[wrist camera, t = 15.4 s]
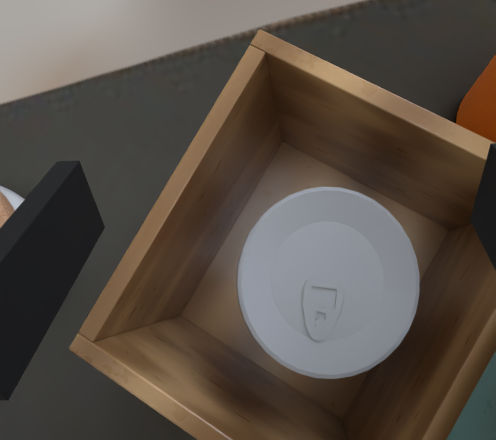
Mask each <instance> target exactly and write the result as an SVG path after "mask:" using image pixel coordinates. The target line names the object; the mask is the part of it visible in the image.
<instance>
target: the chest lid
mask: <svg viewBox="0 0 496 440" xmlns="http://www.w3.org/2000/svg"><path fill="white" fill-rule="evenodd" d="M446 440H496V351H495V353H494V354H493V356H492V358H491V360H490V362H489V363H488V365H487V367H486V369H485V371H484V372H483V374H482V376H481V378H480V380H479V381H478V383H477V385H476V387H475V389H474V390H473V392H472V394H471V396H470V398H469V399H468V401H467V403H466V405H465V407H464V408H463V410H462V412H461V414H460V416H459V417H458V419H457V421H456V423H455V425H454V426H453V428H452V430H451V432H450V434H449V436H448V437H447V439H446Z"/></svg>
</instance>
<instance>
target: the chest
mask: <svg viewBox="0 0 496 440" xmlns="http://www.w3.org/2000/svg"><path fill="white" fill-rule="evenodd" d="M492 143H495V142H492V141H490V140H488V139H486V138H484V137H482V136H480V135H478V134H476V133H474V132H472V131H470V130H468V129H465V128H463V127H461V126H459V125H457V124H455V123H453V122H451V121H449V120H447V119H445V118H443V117H441V116H439V115H436V114H434V113H432V112H430V111H428V110H426V109H424V108H422V107H420V106H418V105H416V104H414V103H412V102H409V101H407V100H405V99H403V98H401V97H399V96H397V95H395V94H393V93H391V92H389V91H387V90H385V89H382V88H380V87H378V86H376V85H374V84H372V83H370V82H368V81H366V80H364V79H362V78H360V77H358V76H356V75H353V74H351V73H349V72H347V71H345V70H343V69H341V68H339V67H337V66H335V65H333V64H331V63H329V62H326V61H324V60H322V59H320V58H318V57H316V56H314V55H312V54H310V53H308V52H306V51H304V50H302V49H299V48H297V47H295V46H293V45H291V44H289V43H287V42H285V41H283V40H281V39H279V38H277V37H275V36H272V35H270V34H268V33H266V32H264V31H262V30H259V31H258V32H257V34H256V36H255V37H254V39H253V41H252V42H251V45H250V46H249V47H248V49H247V51H246V52H245V54H244V56H243V57H242V59H241V61H240V62H239V64H238V66H237V67H236V69H235V71H234V72H233V74H232V76H231V77H230V79H229V81H228V82H227V84H226V86H225V87H224V89H223V91H222V92H221V94H220V96H219V97H218V99H217V101H216V102H215V104H214V106H213V107H212V109H211V111H210V113H209V114H208V116H207V118H206V119H205V121H204V123H203V124H202V126H201V128H200V129H199V131H198V133H197V134H196V136H195V138H194V139H193V141H192V143H191V144H190V146H189V148H188V149H187V151H186V153H185V154H184V156H183V158H182V159H181V161H180V163H179V164H178V166H177V168H176V169H175V171H174V173H173V174H172V176H171V178H170V179H169V181H168V183H167V184H166V186H165V188H164V189H163V191H162V193H161V194H160V196H159V198H158V199H157V201H156V203H155V204H154V206H153V208H152V209H151V211H150V213H149V214H148V216H147V218H146V219H145V221H144V223H143V225H142V226H141V228H140V230H139V231H138V233H137V235H136V236H135V238H134V240H133V241H132V243H131V245H130V246H129V248H128V250H127V251H126V253H125V255H124V256H123V258H122V260H121V261H120V263H119V265H118V266H117V268H116V270H115V271H114V273H113V275H112V276H111V278H110V280H109V281H108V283H107V285H106V286H105V288H104V290H103V291H102V293H101V295H100V296H99V298H98V300H97V301H96V303H95V305H94V306H93V308H92V310H91V311H90V313H89V315H88V316H87V318H86V320H85V321H84V323H83V325H82V326H81V328H80V330H79V333H78V334H77V335H76V337H75V339H74V340H73V342H72V344H71V345H70V347H69V350H70V351H72V352H73V353H75V354H76V355H78V356H79V357H80V358H82V359H83V360H85V361H86V362H88V363H89V364H90V365H92V366H93V367H95V368H96V369H98V370H99V371H100V372H102V373H103V374H105V375H106V376H107V377H109V378H110V379H112V380H113V381H115V382H116V383H117V384H119V385H120V386H122V387H123V388H125V389H126V390H127V391H129V392H130V393H132V394H133V395H134V396H136V397H137V398H139V399H140V400H142V401H143V402H144V403H146V404H147V405H149V406H150V407H152V408H153V409H154V410H156V411H157V412H159V413H160V414H162V415H163V416H164V417H166V418H167V419H169V420H170V421H171V422H173V423H174V424H176V425H177V426H179V427H180V428H181V429H183V430H184V431H186V432H187V433H189V434H190V435H191V436H193V437H194V438H196V439H197V440H446V439H447V437H448V436H449V434H450V432H451V430H452V428H453V426H454V425H455V423H456V421H457V419H458V417H459V416H460V414H461V412H462V410H463V408H464V407H465V405H466V403H467V401H468V399H469V398H470V396H471V394H472V392H473V390H474V389H475V387H476V385H477V383H478V381H479V380H480V378H481V376H482V374H483V372H484V371H485V369H486V367H487V365H488V363H489V362H490V360H491V358H492V356H493V354H494V353H495V351H496V270H495V268H494V266H493V265H492V263H491V261H490V259H489V257H488V255H487V253H486V251H485V249H484V247H483V245H482V243H481V241H480V239H479V237H478V235H477V233H476V231H475V229H474V227H473V225H472V223H471V221H470V218H471V214H472V210H473V207H474V203H475V199H476V196H477V192H478V188H479V185H480V181H481V177H482V173H483V170H484V166H485V162H486V159H487V155H488V151H489V148H490V144H492ZM317 187H340V188H344V189H348V190H352V191H356V192H359V193H361V194H363V195H365V196H367V197H369V198H371V199H373V200H375V201H376V202H377V203H379V204H380V205H381V206H383V207H384V208H385V209H387V210H388V211H389V212H390V213H391V214H392V215H393V217H394V218H395V219H396V220H397V221H398V222H399V223H400V225H401V226H402V228H403V229H404V231H405V233H406V234H407V236H408V238H409V239H410V242H411V244H412V247H413V250H414V252H415V255H416V258H417V264H418V269H419V275H420V284H419V299H418V304H417V309H416V313H415V316H414V318H413V321H412V323H411V326H410V328H409V331H408V332H407V334H406V335H405V337H404V338H403V340H402V341H401V343H400V344H399V346H398V347H397V348H396V349H395V350H394V351H393V352H392V353H391V354H390V355H389V356H388V357H387V358H386V359H385V360H383V361H382V362H380V363H379V364H377V365H376V366H374V367H373V368H371V369H369V370H367V371H364V372H362V373H359V374H357V375H354V376H350V377H344V378H337V379H325V378H314V377H310V376H307V375H303V374H299V373H297V372H295V371H293V370H291V369H289V368H287V367H285V366H283V365H281V364H280V363H278V362H277V361H276V360H275V359H274V358H272V357H271V356H270V355H269V354H267V353H266V352H265V351H264V350H263V349H262V347H261V346H260V345H259V344H258V342H257V341H256V340H255V339H254V338H253V336H252V334H251V332H250V331H249V329H248V327H247V325H246V323H245V321H244V319H243V315H242V312H241V309H240V306H239V303H238V294H237V286H236V281H237V266H238V262H239V258H240V254H241V250H242V247H243V245H244V243H245V241H246V239H247V237H248V234H249V232H250V231H251V229H252V228H253V227H254V225H255V224H256V223H257V221H258V220H259V218H260V217H261V216H262V215H263V214H264V213H266V212H267V211H268V210H269V209H270V208H271V207H272V206H273V205H275V204H276V203H278V202H279V201H281V200H283V199H284V198H286V197H288V196H289V195H292V194H294V193H297V192H300V191H302V190H305V189H311V188H317Z"/></svg>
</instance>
